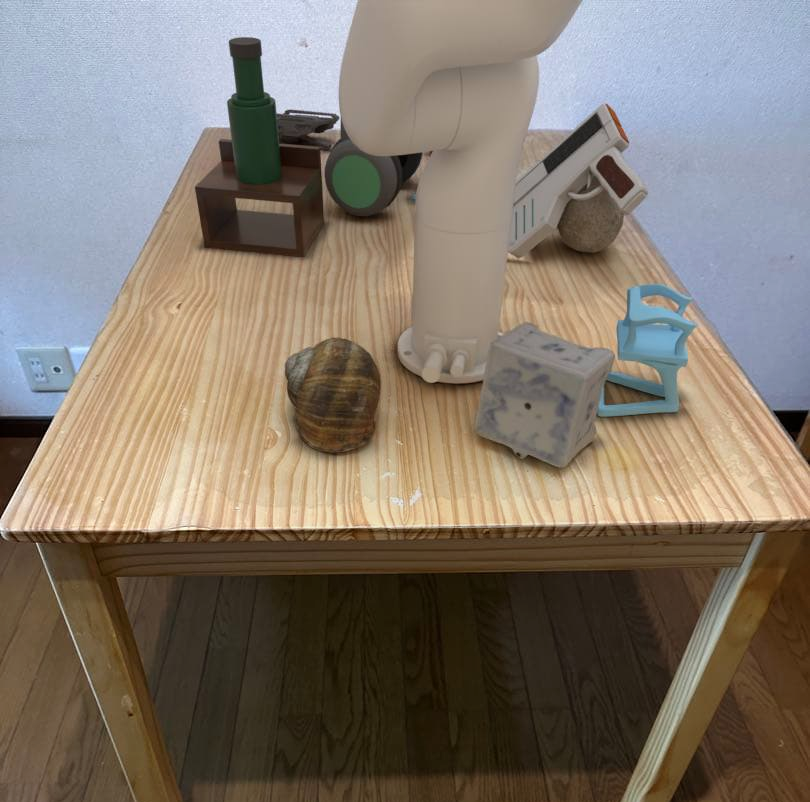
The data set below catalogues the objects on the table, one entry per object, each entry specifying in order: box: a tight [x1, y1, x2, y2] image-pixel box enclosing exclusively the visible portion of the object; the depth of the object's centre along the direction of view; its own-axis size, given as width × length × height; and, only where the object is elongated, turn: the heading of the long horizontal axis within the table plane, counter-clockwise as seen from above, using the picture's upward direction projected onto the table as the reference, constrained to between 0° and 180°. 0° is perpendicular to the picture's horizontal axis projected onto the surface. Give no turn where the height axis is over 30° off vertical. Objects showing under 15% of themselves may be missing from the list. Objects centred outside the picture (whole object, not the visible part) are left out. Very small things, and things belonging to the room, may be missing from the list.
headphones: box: [324, 118, 424, 217], centre depth 113 cm, size 19×11×20 cm, turn 164°
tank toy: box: [276, 108, 340, 150], centre depth 136 cm, size 12×10×5 cm
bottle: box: [226, 36, 282, 184], centre depth 99 cm, size 6×6×16 cm
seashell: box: [284, 336, 382, 453], centre depth 76 cm, size 11×9×8 cm
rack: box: [194, 138, 325, 258], centre depth 106 cm, size 11×14×10 cm
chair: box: [596, 283, 698, 418], centre depth 78 cm, size 8×8×12 cm
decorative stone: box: [557, 176, 625, 254], centre depth 104 cm, size 10×8×10 cm
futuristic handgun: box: [508, 102, 649, 259], centre depth 100 cm, size 3×20×15 cm
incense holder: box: [473, 321, 616, 468], centre depth 73 cm, size 10×8×10 cm
